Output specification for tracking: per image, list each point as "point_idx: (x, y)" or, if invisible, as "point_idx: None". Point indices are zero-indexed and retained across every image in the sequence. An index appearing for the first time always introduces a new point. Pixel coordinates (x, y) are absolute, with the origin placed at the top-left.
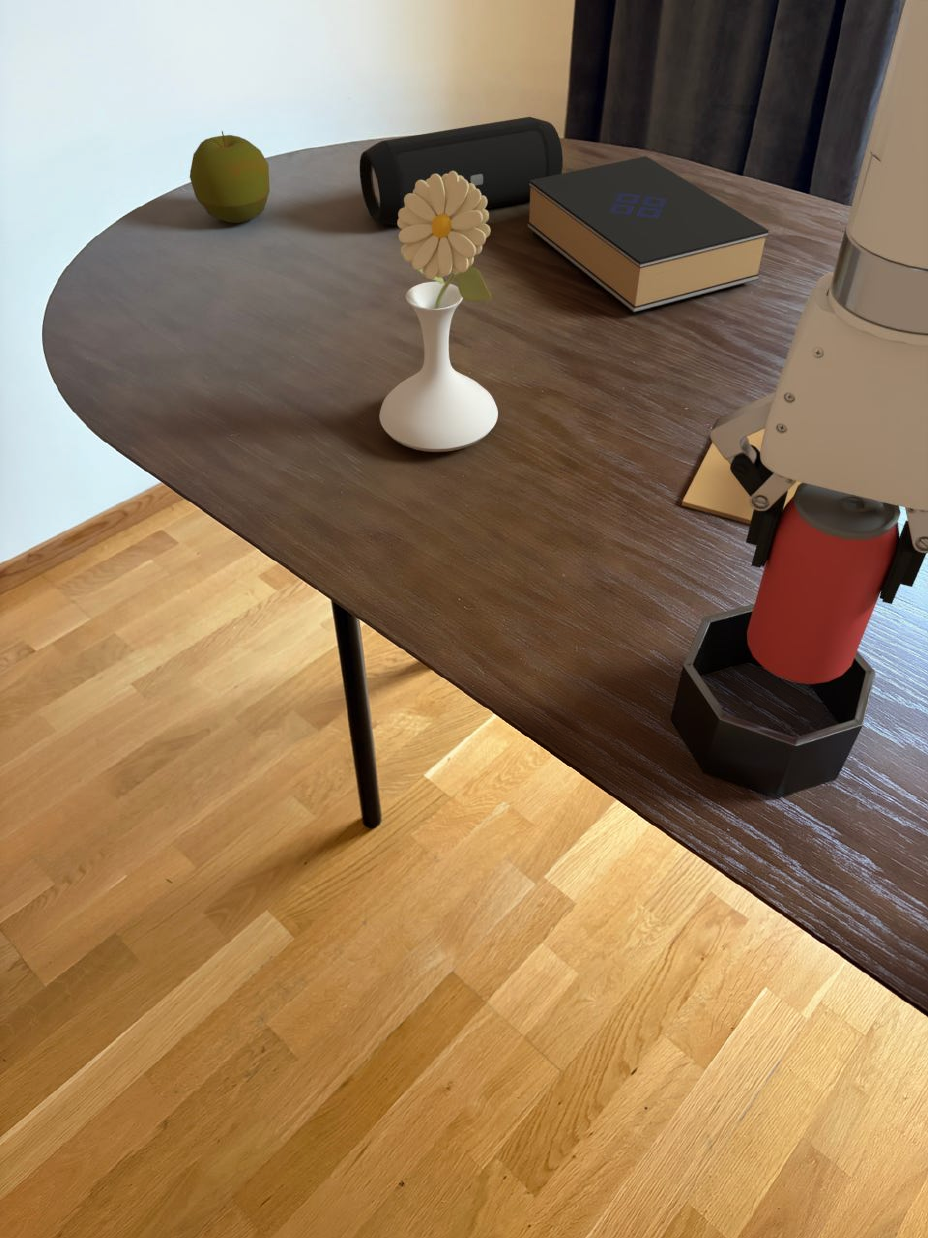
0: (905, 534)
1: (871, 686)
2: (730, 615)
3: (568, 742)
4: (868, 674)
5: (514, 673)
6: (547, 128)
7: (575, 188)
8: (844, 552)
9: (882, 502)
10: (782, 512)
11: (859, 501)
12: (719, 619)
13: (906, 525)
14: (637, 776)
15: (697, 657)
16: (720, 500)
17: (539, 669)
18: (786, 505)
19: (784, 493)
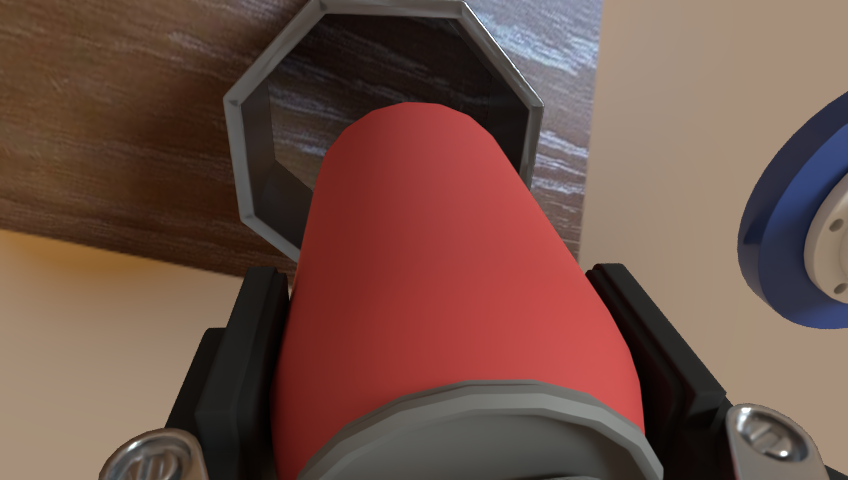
0: (659, 454)
1: (537, 139)
2: (268, 69)
3: (160, 249)
4: (533, 114)
5: (9, 176)
6: None
7: None
8: None
9: (604, 461)
10: (274, 466)
11: (521, 478)
12: (253, 90)
13: (670, 423)
14: (264, 258)
15: (254, 163)
16: None
17: (36, 153)
18: (274, 452)
19: (244, 433)
